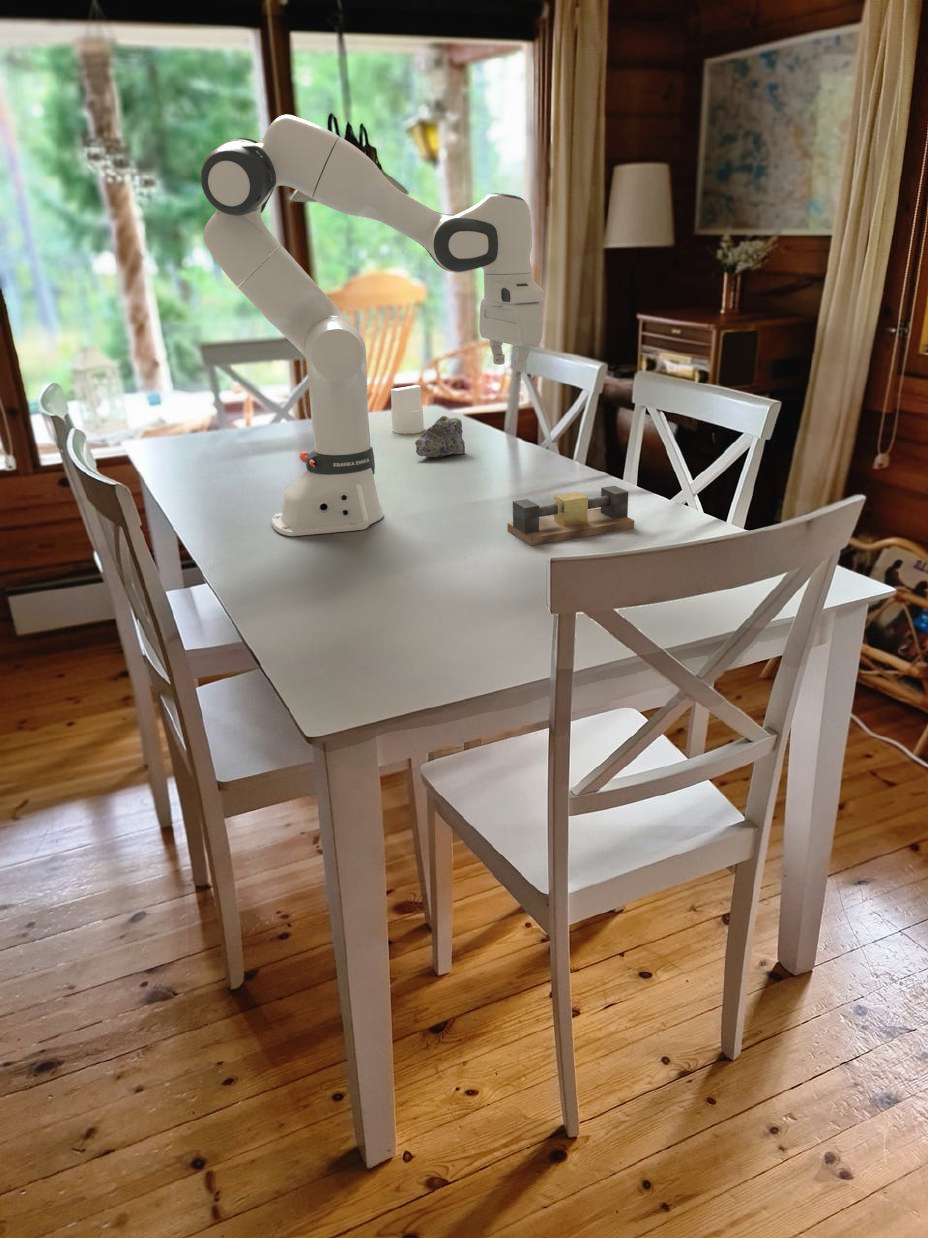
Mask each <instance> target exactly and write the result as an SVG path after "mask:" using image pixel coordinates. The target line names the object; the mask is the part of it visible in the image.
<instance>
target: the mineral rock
mask: <svg viewBox="0 0 928 1238" xmlns="http://www.w3.org/2000/svg"><path fill="white" fill-rule="evenodd" d="M462 426H463V423H462V420H461V419H460V418H458V417H452V418H449V417H447V416H446V415H442V416H440V417H439V418H438V419H437V420H436V421H435V423H434V424H432V425H431V426H430V427H428V428H427V429H426V430H424V432H423V433H422V434H421V436H420V437H419V438H418V439H416V440H415V442H414V444H415V447H416V450H415V453H416V454H417V455H418V456H419V457H426V458H428V457H429V458H432V457H433V458H443V457H445V456H449V455H462V454H465V453H466V450H465V449H466V446H465V441H464V440H463V433H464V432H463V427H462Z"/></svg>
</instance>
